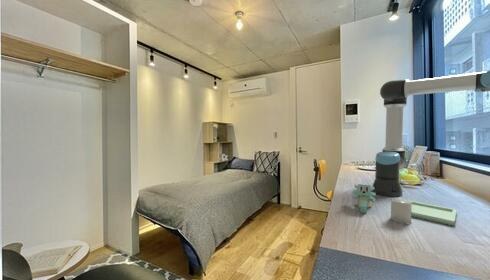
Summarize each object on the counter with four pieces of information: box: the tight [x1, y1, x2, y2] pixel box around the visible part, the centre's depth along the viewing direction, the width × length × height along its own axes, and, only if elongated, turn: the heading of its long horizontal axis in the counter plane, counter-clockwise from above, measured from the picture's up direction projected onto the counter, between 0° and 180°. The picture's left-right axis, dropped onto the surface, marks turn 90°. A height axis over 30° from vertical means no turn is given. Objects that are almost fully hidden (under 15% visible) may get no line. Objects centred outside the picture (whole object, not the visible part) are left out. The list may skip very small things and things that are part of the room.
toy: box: [352, 183, 377, 214], centre depth 105 cm, size 10×14×15 cm
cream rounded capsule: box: [390, 198, 412, 224], centre depth 92 cm, size 7×7×8 cm
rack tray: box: [407, 199, 457, 227], centre depth 100 cm, size 20×17×2 cm
